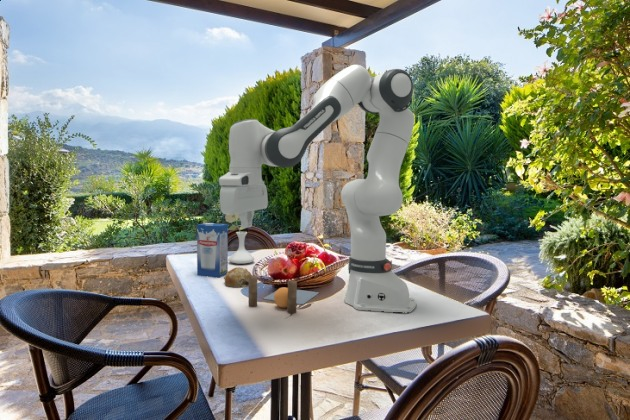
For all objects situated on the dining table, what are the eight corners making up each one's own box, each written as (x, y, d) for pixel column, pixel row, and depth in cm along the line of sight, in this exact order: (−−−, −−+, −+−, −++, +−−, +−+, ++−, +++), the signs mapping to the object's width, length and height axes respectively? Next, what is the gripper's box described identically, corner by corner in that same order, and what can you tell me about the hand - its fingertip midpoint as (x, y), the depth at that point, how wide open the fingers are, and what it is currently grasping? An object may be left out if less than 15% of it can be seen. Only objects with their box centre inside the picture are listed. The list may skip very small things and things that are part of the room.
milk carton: (197, 275, 159) (196, 224, 157) (206, 271, 164) (205, 222, 163) (219, 277, 156) (219, 226, 154) (227, 274, 161) (227, 224, 160)
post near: (297, 310, 120) (298, 281, 119) (294, 313, 117) (294, 283, 116) (289, 309, 121) (290, 279, 120) (285, 312, 118) (286, 282, 117)
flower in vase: (249, 259, 190) (249, 206, 188) (258, 264, 180) (258, 208, 178) (221, 261, 184) (221, 206, 182) (229, 266, 174) (229, 208, 172)
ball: (299, 290, 123) (285, 286, 119) (295, 310, 122) (281, 307, 118) (286, 288, 127) (272, 284, 123) (282, 307, 126) (268, 304, 122)
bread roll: (233, 298, 142) (240, 280, 139) (216, 282, 147) (222, 263, 144) (253, 292, 150) (260, 275, 147) (236, 276, 155) (243, 259, 152)
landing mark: (319, 293, 138) (319, 292, 138) (302, 304, 125) (302, 304, 125) (282, 288, 143) (282, 287, 143) (262, 299, 130) (262, 298, 130)
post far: (258, 304, 124) (258, 276, 124) (254, 307, 122) (254, 277, 121) (251, 303, 125) (251, 275, 125) (246, 306, 123) (247, 277, 122)
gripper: (254, 177, 124) (254, 222, 126) (215, 179, 105) (216, 231, 107) (272, 177, 122) (273, 223, 123) (236, 179, 103) (237, 233, 104)
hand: (246, 227), depth 115 cm, fingers closed
